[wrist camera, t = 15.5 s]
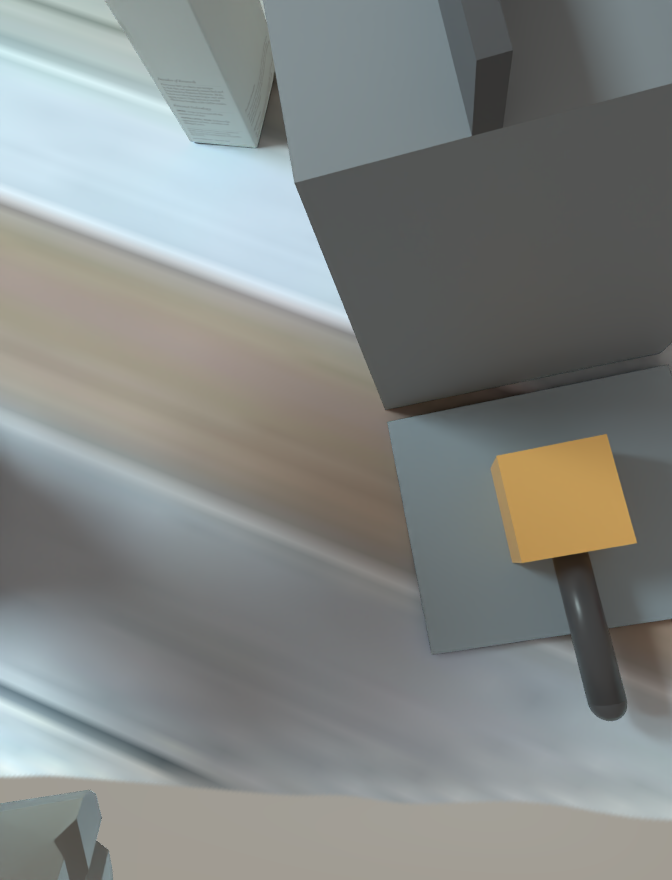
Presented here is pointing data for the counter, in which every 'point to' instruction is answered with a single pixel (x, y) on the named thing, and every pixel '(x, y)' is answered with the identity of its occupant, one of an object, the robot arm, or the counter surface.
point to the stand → (485, 180)
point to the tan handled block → (570, 543)
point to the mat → (480, 523)
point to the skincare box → (205, 63)
